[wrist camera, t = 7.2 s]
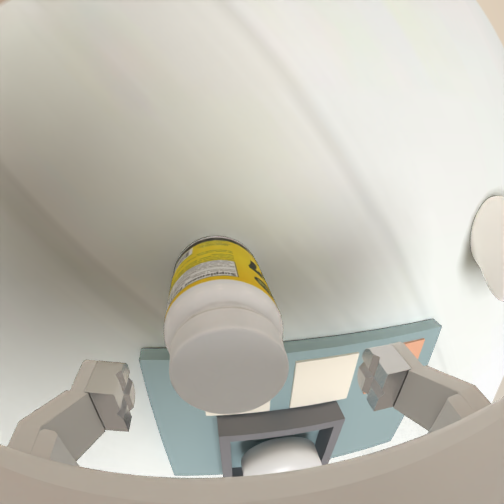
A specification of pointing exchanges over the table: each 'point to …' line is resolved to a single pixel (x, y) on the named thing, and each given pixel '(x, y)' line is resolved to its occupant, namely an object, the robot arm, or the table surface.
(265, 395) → the supplement bottle
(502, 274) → the figurine
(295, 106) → the table surface
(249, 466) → the dome
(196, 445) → the board
